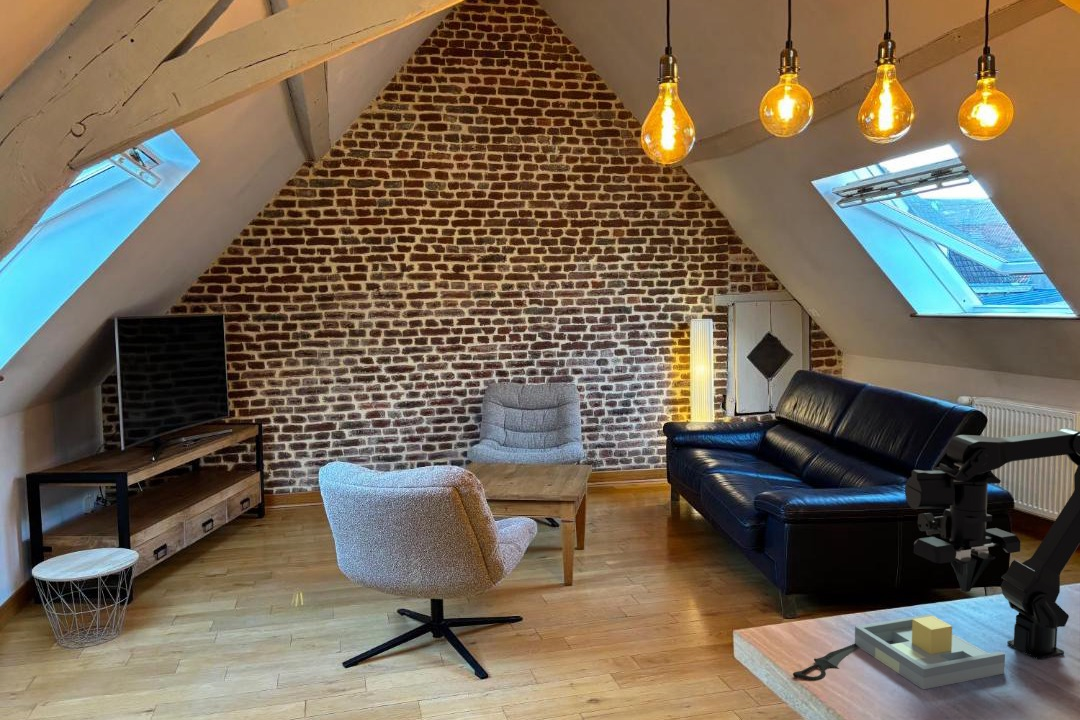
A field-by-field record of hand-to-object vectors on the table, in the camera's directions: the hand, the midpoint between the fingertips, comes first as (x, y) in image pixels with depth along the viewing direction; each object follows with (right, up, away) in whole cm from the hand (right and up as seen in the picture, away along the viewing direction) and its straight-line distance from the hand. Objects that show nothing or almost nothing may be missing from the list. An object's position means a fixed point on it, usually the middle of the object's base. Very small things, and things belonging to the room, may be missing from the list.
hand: (965, 591), depth 141 cm
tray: (-8, -12, -1) cm, 14 cm away
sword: (-23, -13, 0) cm, 26 cm away
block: (-7, -10, -1) cm, 12 cm away
